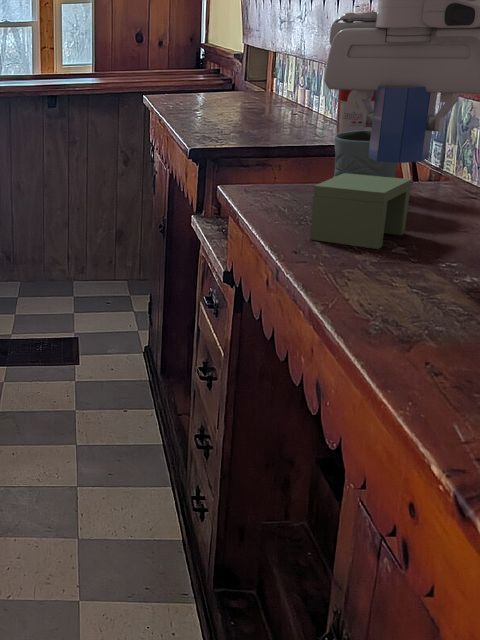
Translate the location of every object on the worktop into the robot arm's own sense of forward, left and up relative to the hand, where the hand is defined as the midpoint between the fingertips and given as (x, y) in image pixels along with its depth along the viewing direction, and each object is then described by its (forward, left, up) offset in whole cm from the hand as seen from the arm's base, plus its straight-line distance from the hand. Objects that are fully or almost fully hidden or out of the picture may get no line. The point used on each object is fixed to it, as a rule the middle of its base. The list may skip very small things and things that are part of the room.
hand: (401, 128), depth 109 cm
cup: (0, 0, -4) cm, 4 cm away
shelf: (+8, -10, -17) cm, 22 cm away
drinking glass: (+14, -26, -18) cm, 34 cm away
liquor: (+21, -40, -18) cm, 48 cm away
